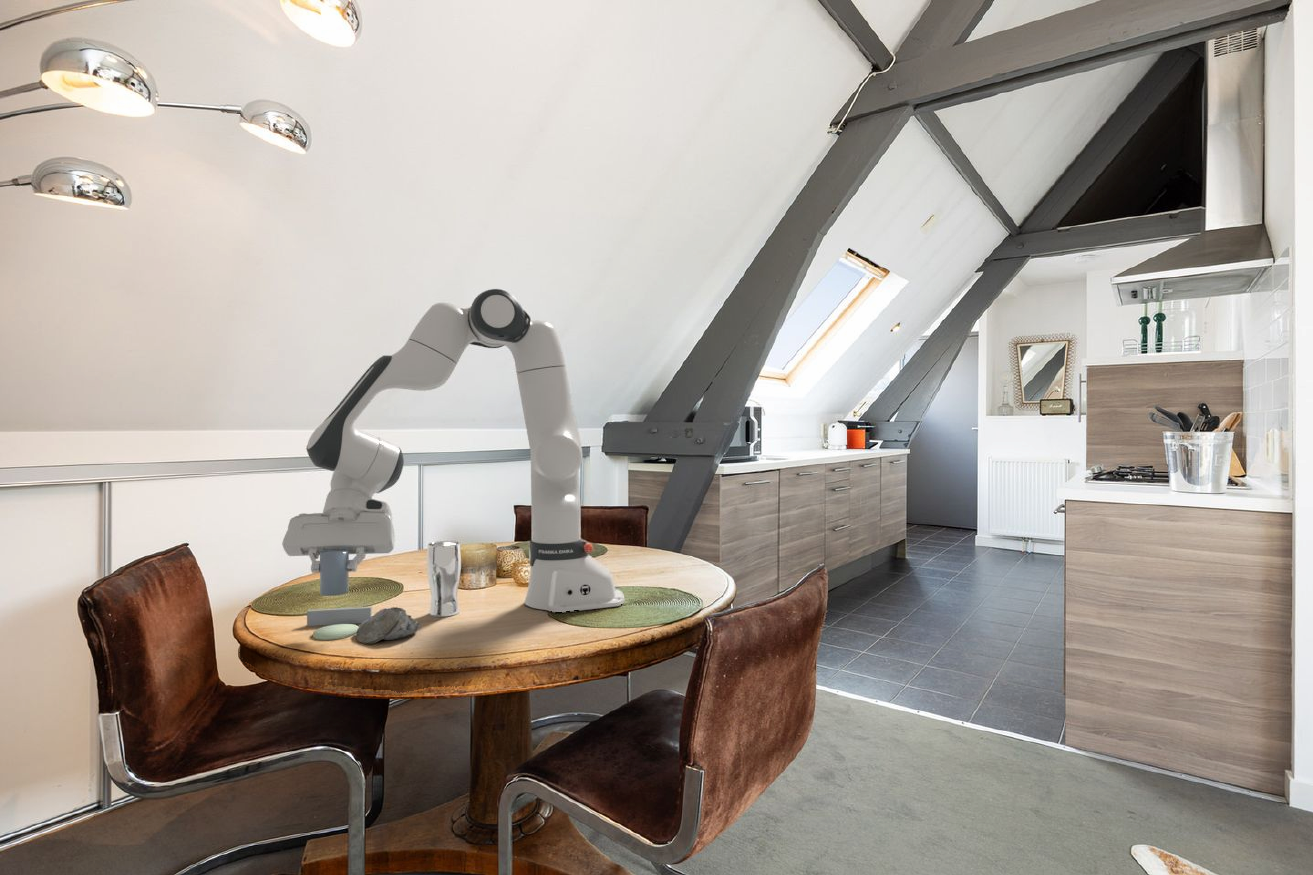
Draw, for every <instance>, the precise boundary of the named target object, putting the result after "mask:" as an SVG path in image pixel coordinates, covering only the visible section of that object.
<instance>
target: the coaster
mask: <svg viewBox="0 0 1313 875" xmlns="http://www.w3.org/2000/svg"><path fill="white" fill-rule="evenodd" d="M358 628H359V626H358V625H356V624H337V625H325V626H322V627H320V628H319V627H318V628H317V629H315V630H314V631H312V632H313V633H312V638H313V639H315V640H319V641H334V640H341V639H346V638H349V637H352V636H356V635H357V630H358Z"/></svg>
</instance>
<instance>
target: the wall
mask: <svg viewBox="0 0 1313 875" xmlns="http://www.w3.org/2000/svg"><path fill="white" fill-rule="evenodd" d="M372 610H373V608H372V606H359V607H358V606H357V607H342V608H341V607H340V608H321V609H320V608H319V609H308V610H307V611H306V626H307V627H317V626H330V625H337V624H353V625H355V624H361V623H362V622H364V621H365V620H366V619H368V618H369V617H372V616H373V612H372Z"/></svg>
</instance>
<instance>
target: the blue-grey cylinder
mask: <svg viewBox="0 0 1313 875" xmlns="http://www.w3.org/2000/svg"><path fill="white" fill-rule="evenodd" d="M349 555H350V554H349V550H347V549H330V550H324V551H321V552H320V555H319V561H320V573H319V595H320V596H325V597H331V596H332V597H333V596H341V595H345V594H347V593H349V591H350V590H349V589H350V588H349V586H350V584H349V583H350V582H349V581H350V580H349V578H350V576H349V573H350V572H348V570H347V564H348V560H350V556H349Z"/></svg>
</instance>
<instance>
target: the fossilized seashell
mask: <svg viewBox="0 0 1313 875" xmlns="http://www.w3.org/2000/svg"><path fill="white" fill-rule="evenodd" d="M406 612H407V611H406V609H405V608H402V607H397V606H396V607H390V608H389V607H388V608H382V609H380V610H378V611H376V612H375V613H374V615H372V617H369V618H368V619H366V620H365V621H364V622H362V623H359V626H358V627H359V628H358V630H357V633H356V634H355V636H356V639H357V642H359V643H360V642H361V644H363V643H365V644H364V645H367V644H369V645H372V644H375V643H377V642H379V641H381V640H385V641H393V640H399V639H403V638H405V637H408V636H410V635H413V634H415V633H416V632H417V631H418V630H419V629H420V626H421V625H420V623H419V622H418V621H417V620H415V619H413V617H412V615H409V614H407V613H406ZM369 645H368V646H369Z"/></svg>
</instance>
